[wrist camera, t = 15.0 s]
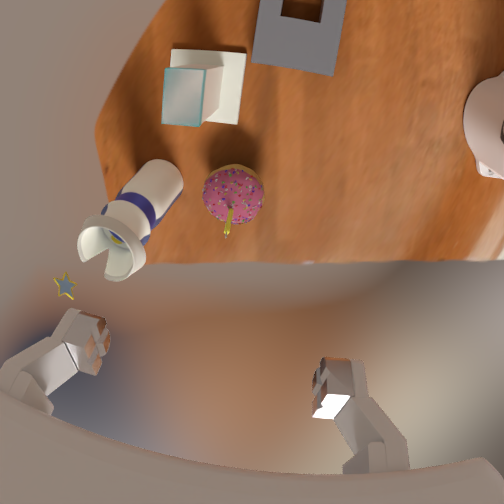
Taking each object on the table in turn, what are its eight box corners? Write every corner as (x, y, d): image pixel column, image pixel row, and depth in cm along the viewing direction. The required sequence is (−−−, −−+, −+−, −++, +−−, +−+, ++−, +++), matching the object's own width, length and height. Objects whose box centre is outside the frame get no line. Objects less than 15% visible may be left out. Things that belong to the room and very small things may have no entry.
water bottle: (169, 216, 52) (103, 331, 31) (128, 186, 49) (40, 287, 29) (196, 180, 48) (131, 292, 27) (152, 148, 45) (56, 239, 25)
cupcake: (268, 206, 49) (263, 251, 39) (214, 209, 50) (195, 253, 41) (263, 152, 44) (256, 186, 34) (205, 157, 45) (181, 191, 36)
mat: (247, 53, 36) (246, 53, 35) (237, 123, 42) (236, 124, 41) (174, 49, 36) (171, 49, 35) (168, 116, 42) (166, 117, 41)
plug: (224, 65, 36) (204, 69, 27) (219, 108, 40) (198, 126, 31) (193, 63, 36) (165, 68, 28) (189, 105, 40) (161, 123, 31)
